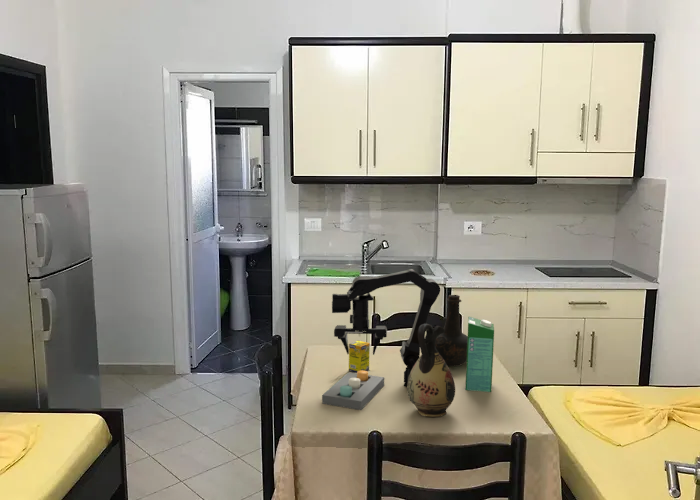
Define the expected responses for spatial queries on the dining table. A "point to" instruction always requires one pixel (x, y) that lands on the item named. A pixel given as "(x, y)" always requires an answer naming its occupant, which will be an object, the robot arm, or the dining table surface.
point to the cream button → (354, 383)
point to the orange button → (362, 375)
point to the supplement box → (359, 356)
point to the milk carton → (479, 355)
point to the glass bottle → (452, 336)
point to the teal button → (346, 391)
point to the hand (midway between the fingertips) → (360, 354)
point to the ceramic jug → (430, 376)
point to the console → (353, 392)
